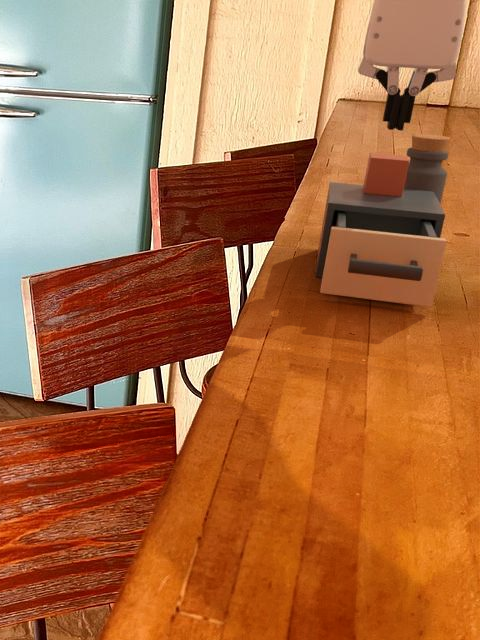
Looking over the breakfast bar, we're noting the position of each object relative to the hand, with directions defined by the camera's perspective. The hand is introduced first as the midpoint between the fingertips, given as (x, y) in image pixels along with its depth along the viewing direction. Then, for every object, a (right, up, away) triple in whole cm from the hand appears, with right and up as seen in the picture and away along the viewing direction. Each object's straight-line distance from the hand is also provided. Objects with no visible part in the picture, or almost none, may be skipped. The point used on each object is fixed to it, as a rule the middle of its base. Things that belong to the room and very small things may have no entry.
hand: (394, 128), depth 107 cm
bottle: (+9, -12, +16) cm, 22 cm away
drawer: (-5, -20, -7) cm, 22 cm away
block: (0, -7, +4) cm, 8 cm away
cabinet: (-1, -17, +5) cm, 17 cm away
